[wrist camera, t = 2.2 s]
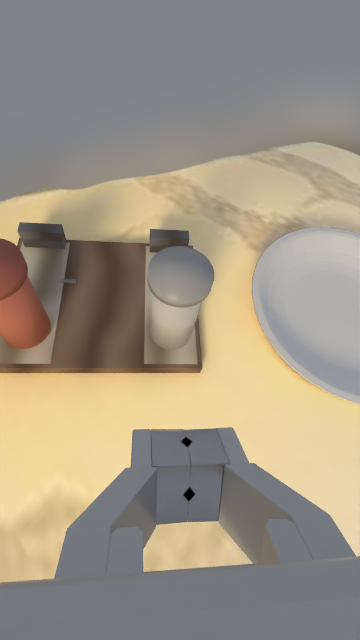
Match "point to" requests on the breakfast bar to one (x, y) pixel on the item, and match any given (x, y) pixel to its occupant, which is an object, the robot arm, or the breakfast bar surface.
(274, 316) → the pan
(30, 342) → the red plug
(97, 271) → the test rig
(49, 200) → the breakfast bar surface
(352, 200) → the breakfast bar surface
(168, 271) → the grey plug
